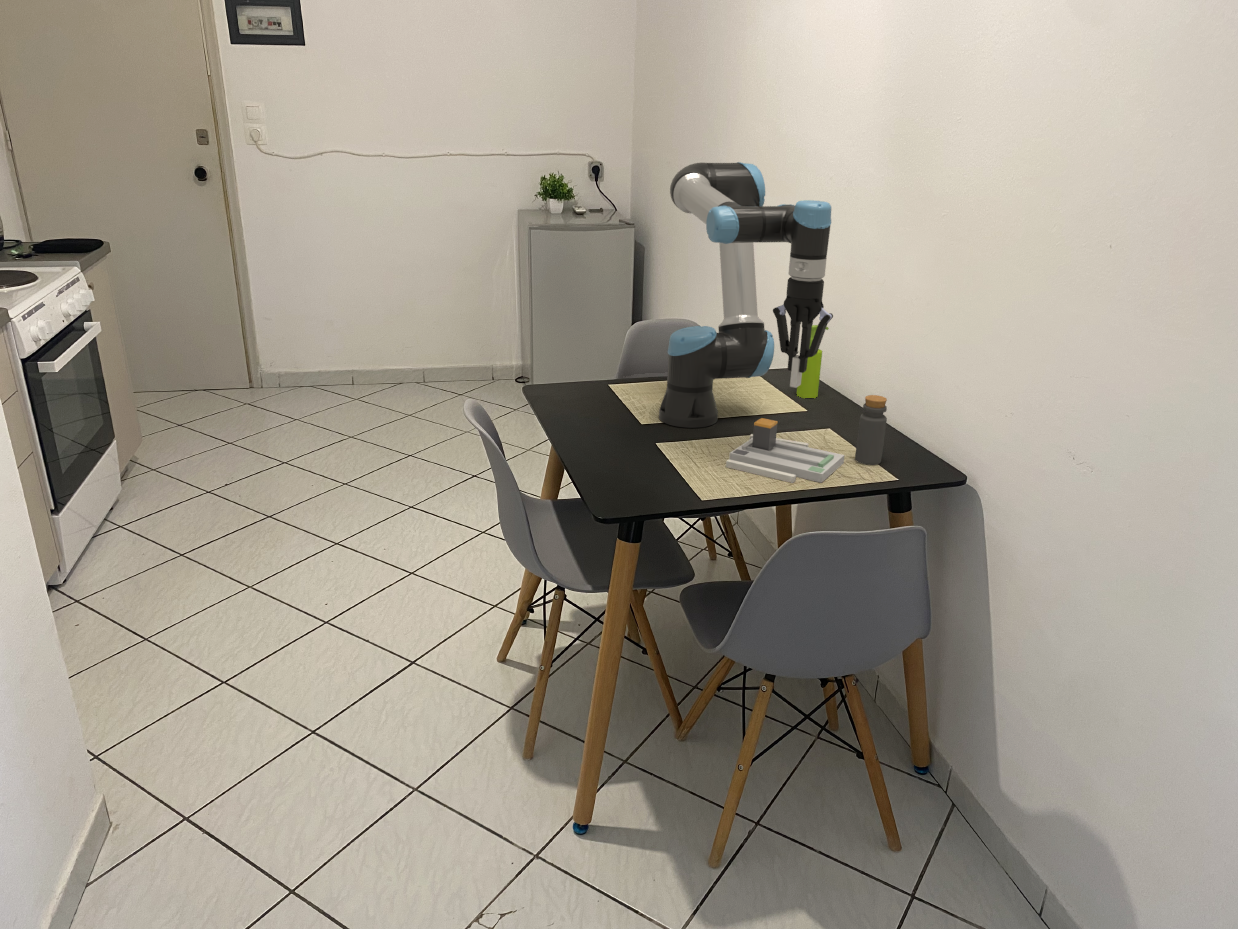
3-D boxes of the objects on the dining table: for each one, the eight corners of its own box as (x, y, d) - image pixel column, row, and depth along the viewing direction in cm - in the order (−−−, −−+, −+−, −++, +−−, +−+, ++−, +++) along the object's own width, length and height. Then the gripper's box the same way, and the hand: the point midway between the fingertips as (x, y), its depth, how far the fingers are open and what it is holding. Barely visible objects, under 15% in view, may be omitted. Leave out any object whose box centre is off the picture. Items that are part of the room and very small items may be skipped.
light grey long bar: (725, 466, 197) (726, 461, 197) (728, 465, 199) (728, 459, 198) (792, 483, 189) (793, 476, 189) (795, 480, 191) (796, 474, 190)
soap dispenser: (823, 399, 246) (830, 328, 239) (798, 398, 246) (805, 327, 239) (819, 392, 252) (826, 323, 244) (794, 392, 252) (801, 323, 245)
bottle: (876, 467, 199) (885, 403, 194) (851, 461, 202) (859, 398, 196) (884, 459, 204) (892, 397, 198) (859, 454, 207) (867, 392, 201)
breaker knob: (752, 447, 202) (754, 422, 200) (759, 442, 205) (761, 417, 203) (768, 450, 200) (770, 425, 198) (775, 445, 203) (777, 421, 201)
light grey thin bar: (749, 441, 213) (749, 435, 213) (751, 439, 215) (751, 433, 214) (806, 450, 208) (807, 445, 208) (808, 448, 209) (808, 443, 209)
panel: (729, 461, 201) (729, 449, 200) (754, 443, 212) (755, 432, 211) (821, 482, 190) (822, 470, 189) (843, 463, 201) (844, 451, 200)
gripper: (770, 276, 185) (761, 384, 194) (830, 284, 179) (817, 395, 188) (783, 271, 191) (774, 376, 200) (842, 278, 185) (829, 386, 194)
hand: (795, 385), depth 194 cm, fingers closed
